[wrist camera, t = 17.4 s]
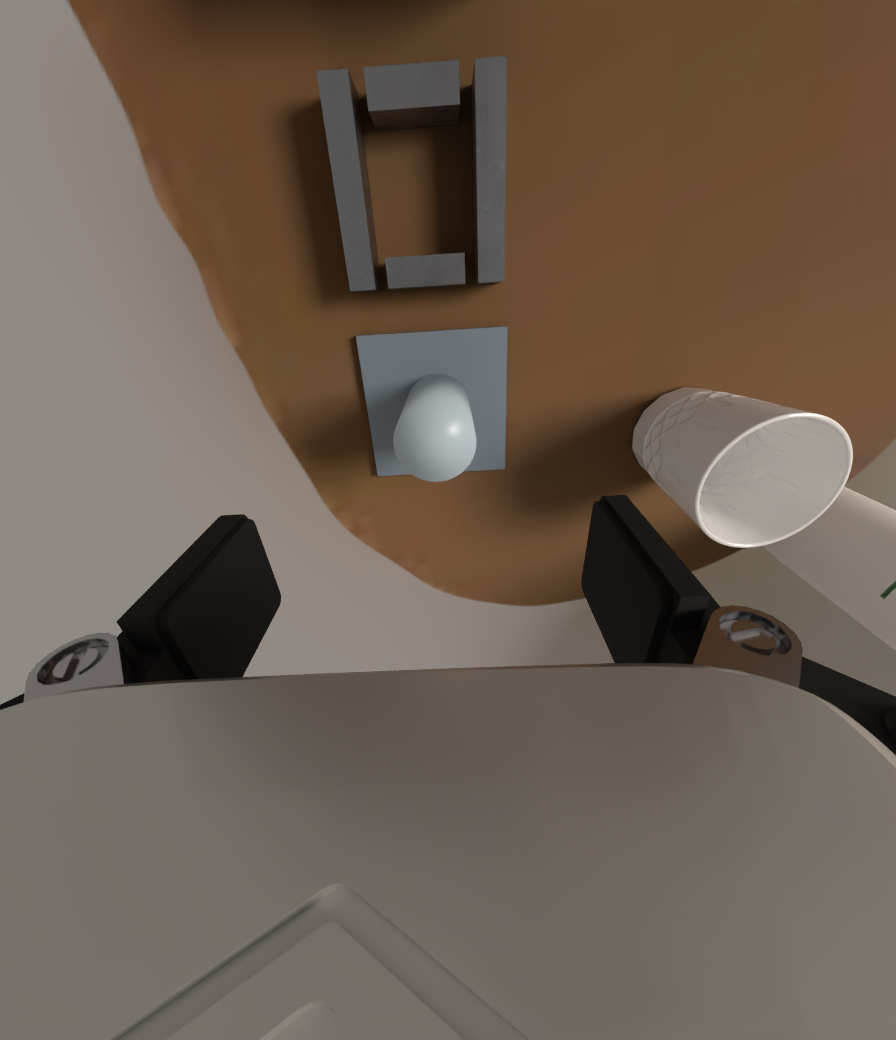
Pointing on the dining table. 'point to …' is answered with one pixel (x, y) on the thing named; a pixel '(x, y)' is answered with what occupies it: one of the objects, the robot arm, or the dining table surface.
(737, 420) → the white cup
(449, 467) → the cylinder
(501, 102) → the cartridge socket
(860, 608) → the cylindrical container
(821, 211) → the dining table surface
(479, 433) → the rubber mat
